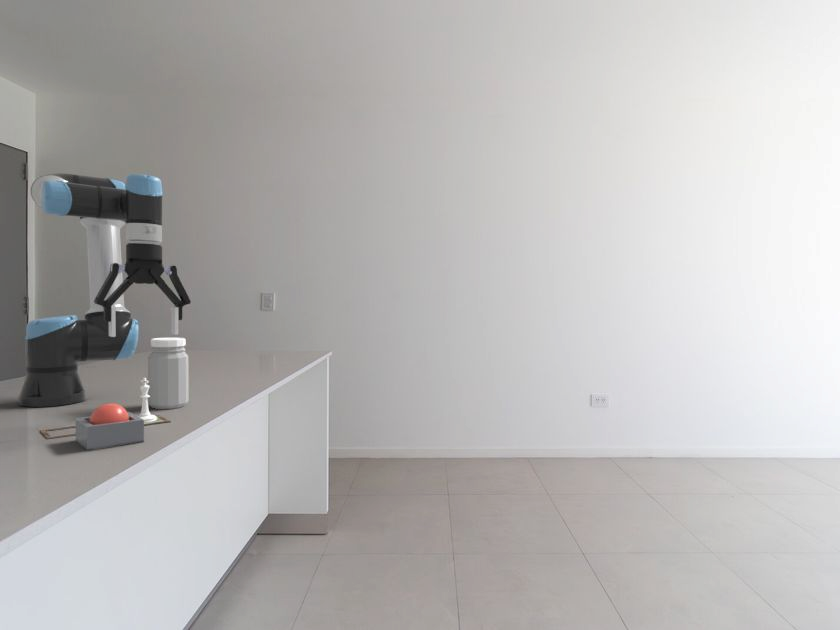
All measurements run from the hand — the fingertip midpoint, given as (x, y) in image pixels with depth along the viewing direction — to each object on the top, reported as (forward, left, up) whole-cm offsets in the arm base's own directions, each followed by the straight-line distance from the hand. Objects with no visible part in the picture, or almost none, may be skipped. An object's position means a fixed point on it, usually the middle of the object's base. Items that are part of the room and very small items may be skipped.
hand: (144, 335), depth 130 cm
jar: (-15, +10, -20) cm, 27 cm away
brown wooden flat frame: (0, -8, -20) cm, 22 cm away
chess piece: (0, 0, -20) cm, 20 cm away
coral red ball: (+14, -11, -19) cm, 26 cm away
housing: (+14, -11, -20) cm, 27 cm away
